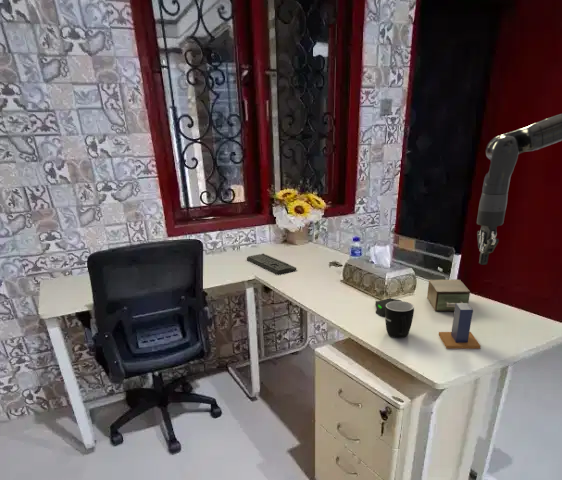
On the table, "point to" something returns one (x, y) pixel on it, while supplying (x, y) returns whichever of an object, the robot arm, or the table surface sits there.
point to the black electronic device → (383, 306)
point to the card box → (461, 322)
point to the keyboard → (271, 264)
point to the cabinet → (444, 290)
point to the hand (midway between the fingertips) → (482, 264)
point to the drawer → (451, 300)
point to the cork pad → (451, 343)
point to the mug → (398, 318)
